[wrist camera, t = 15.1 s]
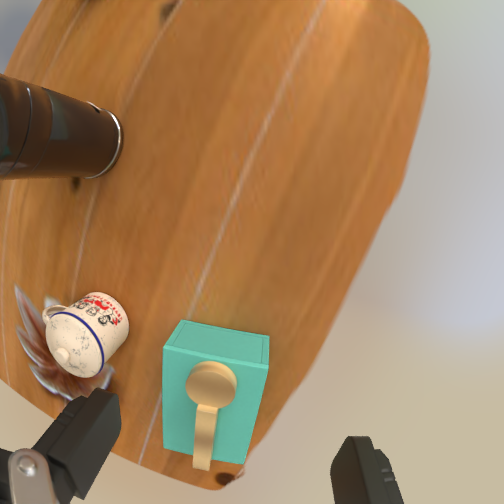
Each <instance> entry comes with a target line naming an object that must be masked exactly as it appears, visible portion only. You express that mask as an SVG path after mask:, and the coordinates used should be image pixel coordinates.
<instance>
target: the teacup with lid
mask: <svg viewBox="0 0 504 504" xmlns="http://www.w3.org/2000/svg"><path fill="white" fill-rule="evenodd" d="M51 314H54V315H53V316H52V317H51V318H50V317H49V315H51ZM42 318H43V321H44V323H45V324H46V325H47V326H46V340H47V344H48V347H49V349H50V351H51V353H52V355H53V356H54V358H55V359H56V361H57V362H58V363H59V364H60V365H61V366H62V367H63V368H64V369H65V370H67V371H68V372H70V373H71V374H73V375H76V376H79V377H92V376H95V375H97V374H98V373H99V372H100V371H101V370H102V368H103V365H104V364H105V362H106V361H107V360H108V359H109V358H110V357H111V356H112V355H113V353H114V352H115V351H116V350H117V349H118V348H119V347H120V346H121V344H122V343H123V342H124V341H125V340H126V338H127V336H128V332H129V323H128V319H127V316H126V313H125V311H124V310H123V308H122V307H121V305H120V304H119V303H118V302H117V301H116V300H115V299H114V298H112V297H111V296H109V295H107V294H104V293H100V292H93V293H90V294H88V295H86V296H85V297H83V298H82V299H80V300H78V301H77V302H75V303H74V304H72V305H71V306H69V307H65V306H61V305H54V306H50V307H47V308H46V309H44V311H43V313H42Z"/></svg>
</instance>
